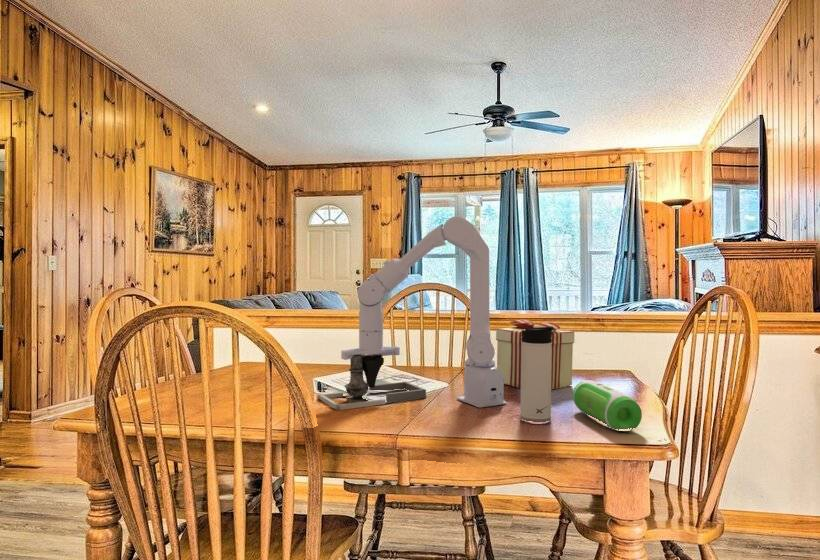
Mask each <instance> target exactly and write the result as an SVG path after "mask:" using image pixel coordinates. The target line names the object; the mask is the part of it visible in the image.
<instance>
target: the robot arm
mask: <svg viewBox="0 0 820 560" xmlns="http://www.w3.org/2000/svg"><path fill="white" fill-rule="evenodd" d="M446 241H447V242H448V243H450V244H451V245H453V246H456V247H457V248H459V249H460V250H461V251H462V252H464V254H466V255H467V256H468V257H469V298H470V299H469V303H470V305H469V311H470V312H469V319H470V320H469V322H470V324H469V337H468V338H467V340H466V343H465V344H466V345H465V349H466V354H467V358H466V360H464V378H463V379H464V381H463V382H464V383H463V384H464V386H463V387H464V394H463V395H461V396H457V397H456V399H457V400H458V401H461V402H464V403H466V404H469V405H471V406H474V407H476V408H487V407H492V406H493V407H494V406H499V405H500V406H501V405H506V404H507V401H505V399H504V398H505V397H504V392H505V391H504V390H505V388H504V387H505V384H504V377H503V374H502V372H501V371H500V370H498V369H497V365H496V361H495V360H494V356H495V353H496V352H495V347H494V345H493V343H492V340H491V328H490V327H491V326H490V248H489V246H488V245H487V243H486V241H485V240H484V238H482V236H481V234H480V233H479V232H478V230H477V228H476V227H475V225H474V224H473V223H471V222H470V221H469V220H467V219H466V218H464V217H462V216H460V215H459V216H458V215H455V216H451V217H450V218H448V219H447V220H446V221H445V223H444V224H443V223H442V224H440V225H438V226H436V227H435V228H433V229H432V230H430V231H429V232H428V233H427V234H426V235H425V236H424V237H423V238H422V239H421V240H419V242H417V243H416V244H415V245H414V246H412V248H411V249H409V250H408V252H406V253H405V254H404V255H403V256H402V257H401V258H391V259H390V260H388V259H386V260H385V261H384V262H383V266H382V267H381V268H380V269H379V270H377V271H376V272H375V273H374V274H373V273H371V274H370V275H369V276H368V278H369V279H370V280H364V281H363V282H362V283H361V284H360V286H359V287H358V290H357V298H358V300H359V301H360V302H359V307H358V308H359V311H358V348H351V349H345V350H344V349H343V350H341V351H340V353H341V360H345V361H348V360H350V359H352V356H354V355H361V356H362V361H363V369H364V371H363V374H364V375H365V379H366V383H367V384H369V387H370V388H374V387H375V385H376V382H377V378H378V374H379V372H380V369H381V368H382V366H383V364H384V362H385V357H386V356H399V355H400V347H399V346H396V345H395V346H384V316H383V315H384V312H383V299H384V297H385V295H386V294H389V293H391V292H392V291H393V290H395V289H396V288H397V287H398V286H399V285H400V284H401V283H402V282H404V281H405V280H406V279H407V278H409V273H410V272H409V271H410V268H411V267H412V266H414V265H415V264H416V263H417V262H419V261H420V260H421V259H423V258H424V257H425V256H426V255H428V253H430V252H431V251H432V250H433V249H435V248H440V247H443V246H447V243H446ZM384 356H385V357H384ZM369 387H368V388H369Z"/></svg>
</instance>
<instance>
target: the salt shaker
mask: <svg viewBox="0 0 820 560" xmlns="http://www.w3.org/2000/svg"><path fill="white" fill-rule="evenodd" d="M349 360H350V368H349V369H348V371H349V373H350V374H349V375H350V379H349V383H346V384H345V385H344V388H345V389H346V390H345V391H347V393H348V394H349V395H350V396H348V398H347V399H346V402H347V403H356V402H364V401H369V399H368V400H366V399H363V398H362V396H365V395H366V394H367V393H368V392H369V384H367V382H365V380H364V369H363V361H362V356H361V355H354V356H352V359H349Z"/></svg>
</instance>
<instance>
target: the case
mask: <svg viewBox="0 0 820 560" xmlns="http://www.w3.org/2000/svg"><path fill="white" fill-rule="evenodd" d="M404 388H405V389H407V390H409V391H405V390H403V391H394V392H386V394H385V402H386V401H387V402H386V403H388V404H389V403H397V402H404V401H412V400H418V399H419V400H420V399H426V398H427V389H426V388H423V387H420V386H419V385H415V384H413V383H410V382H407V381H399V382H397V381H396V382H390V383H382V384H380V383H379V384H375V387H374V388H370V387H368V391H369V390H394V389H404Z"/></svg>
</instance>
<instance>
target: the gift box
mask: <svg viewBox="0 0 820 560" xmlns="http://www.w3.org/2000/svg"><path fill="white" fill-rule="evenodd" d="M510 324H512V325H513V326H514V327H503V328H496V330H495V331H496V332H495V340H496V341H497V344H496V345H497V350H496V358H497V359H496V368H497V369H498V370H500V371H501V372H502V374H503V377H504V386H505V385H506V386H508V387H509V386H510V387H513V388H517V389H521V345H522V343H521V341H522V330H525V329H528V328H538V327H550V326H553V327H554V330H552V338H551V339H552V345H551V346H552V370H551V390H557V389H562V387H563V388H568V387H567V386H569V387H571V386H570V385H573V351H574V350H573V348H574V346H573V345H574V344H575V331H573V330H568V329H560V328H561V326H560V325H558V324H556V323H552V322H545V323H544V322H541V323H539V324H535V323H534V322H533V321H530V320H527V319H517V320H512V321H510Z"/></svg>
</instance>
